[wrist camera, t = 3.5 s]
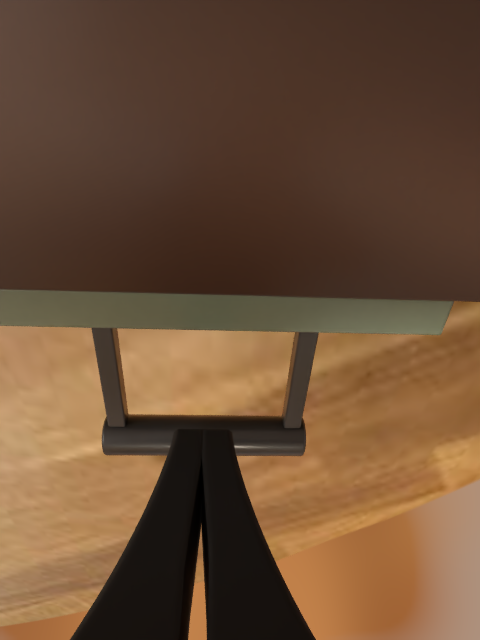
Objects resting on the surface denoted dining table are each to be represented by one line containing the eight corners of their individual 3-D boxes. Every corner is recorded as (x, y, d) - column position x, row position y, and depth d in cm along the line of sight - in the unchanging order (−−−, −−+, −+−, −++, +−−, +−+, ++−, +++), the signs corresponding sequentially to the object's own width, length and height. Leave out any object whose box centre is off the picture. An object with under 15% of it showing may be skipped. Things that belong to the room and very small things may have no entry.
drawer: (351, 361, 21) (390, 466, 16) (59, 356, 20) (9, 465, 15) (526, -317, 10) (820, -631, 5) (-115, -390, 9) (-500, -848, 4)
